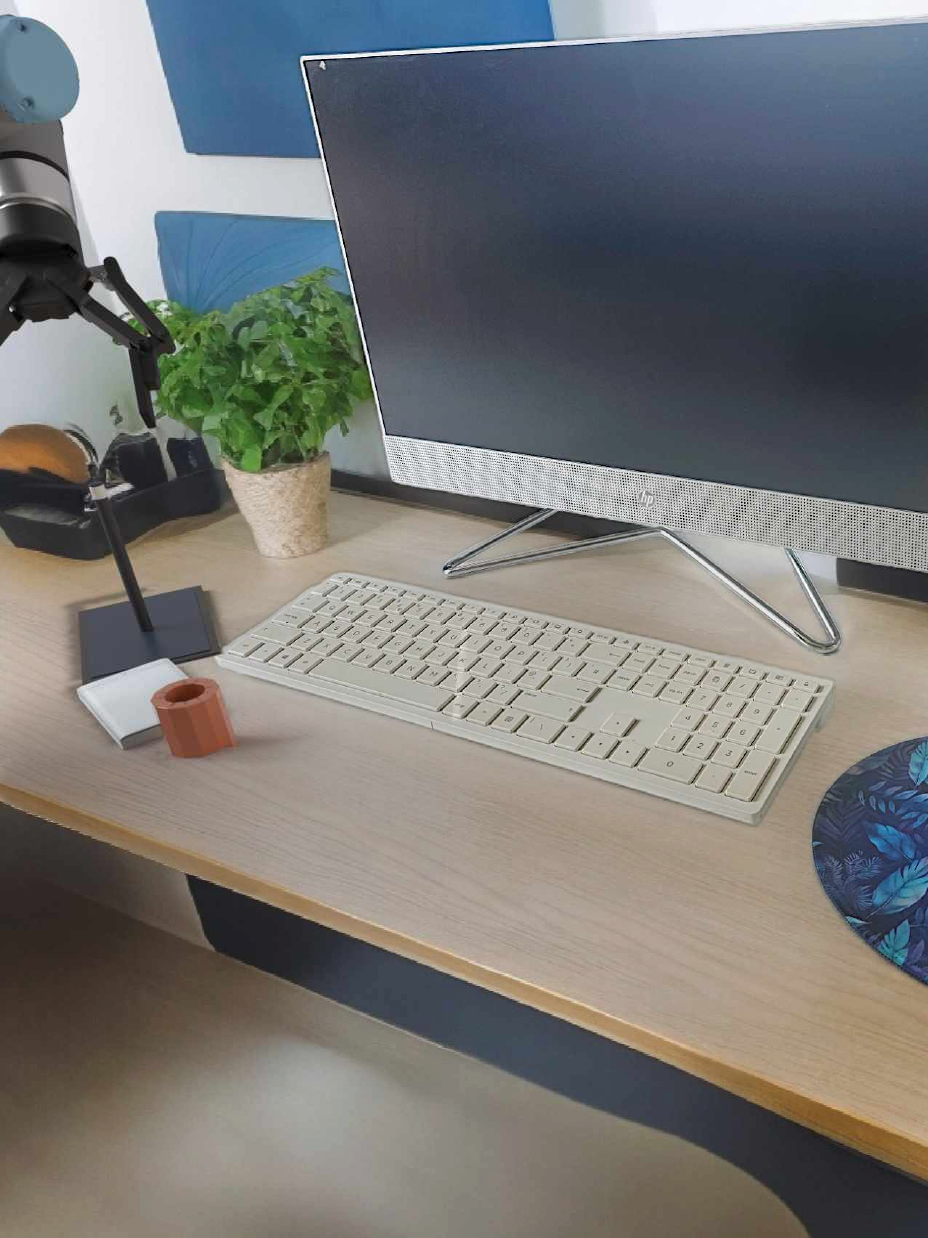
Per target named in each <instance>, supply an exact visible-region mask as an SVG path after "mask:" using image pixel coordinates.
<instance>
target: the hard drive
mask: <svg viewBox="0 0 928 1238" xmlns="http://www.w3.org/2000/svg"><path fill="white" fill-rule="evenodd" d="M190 678H191V677H189V676H188V675H187V674H186V673H184V671H182V670H181V669H180V668H179V667H178V666H177V664H176V665H175V664H174V663H173V662H171V661H170V660H169V659H168V658H163V659H159V660H157V661H154V662H150V663H147V664H145V665H142V666H139V667H136V668H133V669H130V670H127V671H124V672H121V673H118V674H115V675H112V676H109V677H106V678H103V679H100V680H97V681H95V682H92V683H89V684H86V685H81V686H79V687H78V688H76V693H77V695H78V698H79V699H80V701H81V702H82V703H83V704H84V705H85V707H86V708H87V709H88V710H89V712H90V713H91V714H92V715H93V716H94V717H95V718H96V720H97V721H98V722H99V724H100V725H101V726H102V727H103V728H104V729H105V730H106V731H107V733H108V734H109V735H110V736H111V738H112V739H113V740H114V741H115V742H116V743H117V745H118V746H119V747H120V749H121V750H122V751H124V750H127V749H130V748H132V747H135V746H138V745H141V744H143V743H146V742H149V741H151V740H154V739H157V738H159V737H163V735H162V732H161V729H160V727H159V724H158V721H157V718H156V716H155V713H154V710H153V707H152V704H151V702H150V701H151V699H152V697H153V695H154V693H155V692H157V691H158V690H160V689H161V688H163V687H164V686H166V685H167V684H170V683H173V682H176V681H179V680H182V679H190Z"/></svg>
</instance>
